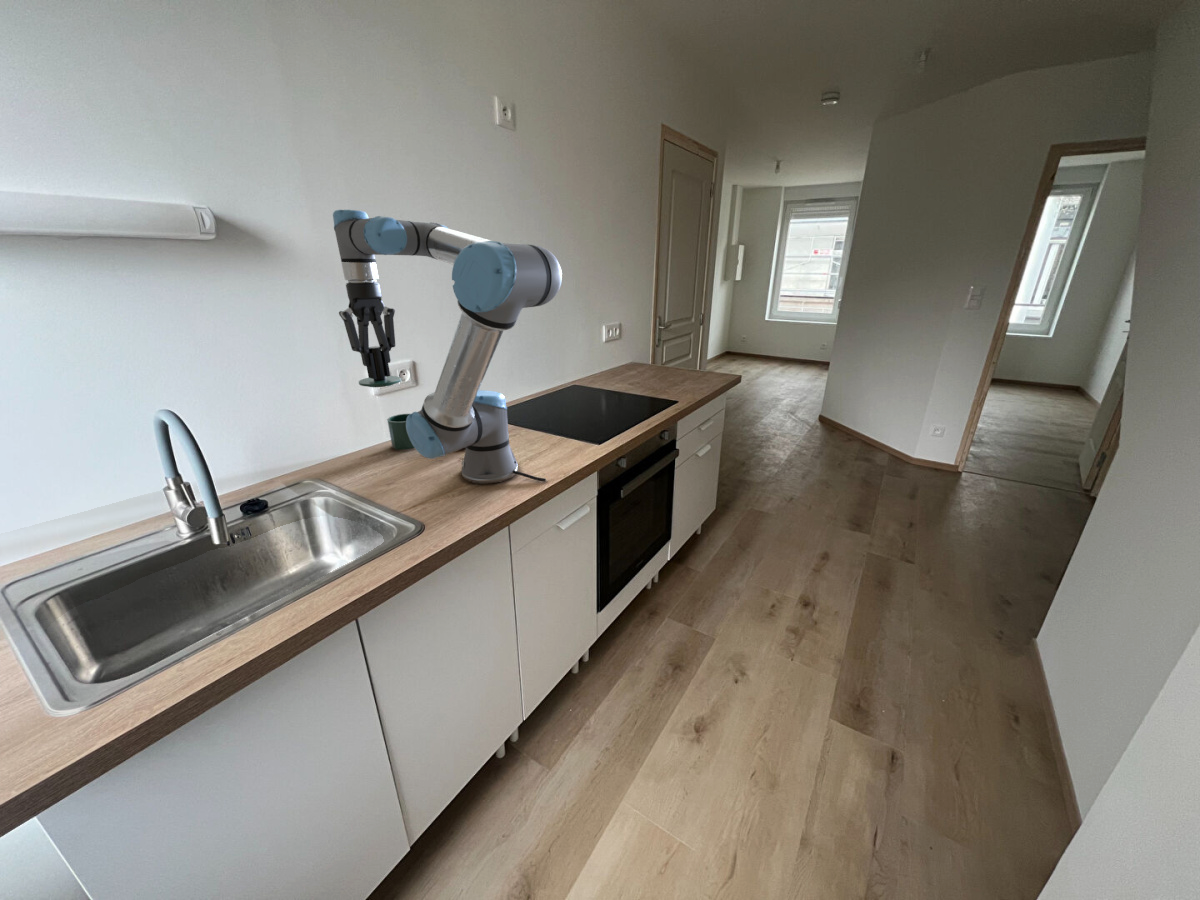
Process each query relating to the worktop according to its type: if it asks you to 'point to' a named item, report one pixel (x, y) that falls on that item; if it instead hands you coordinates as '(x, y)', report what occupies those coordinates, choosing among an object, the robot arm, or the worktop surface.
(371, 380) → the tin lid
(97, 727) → the worktop surface
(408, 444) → the tin
